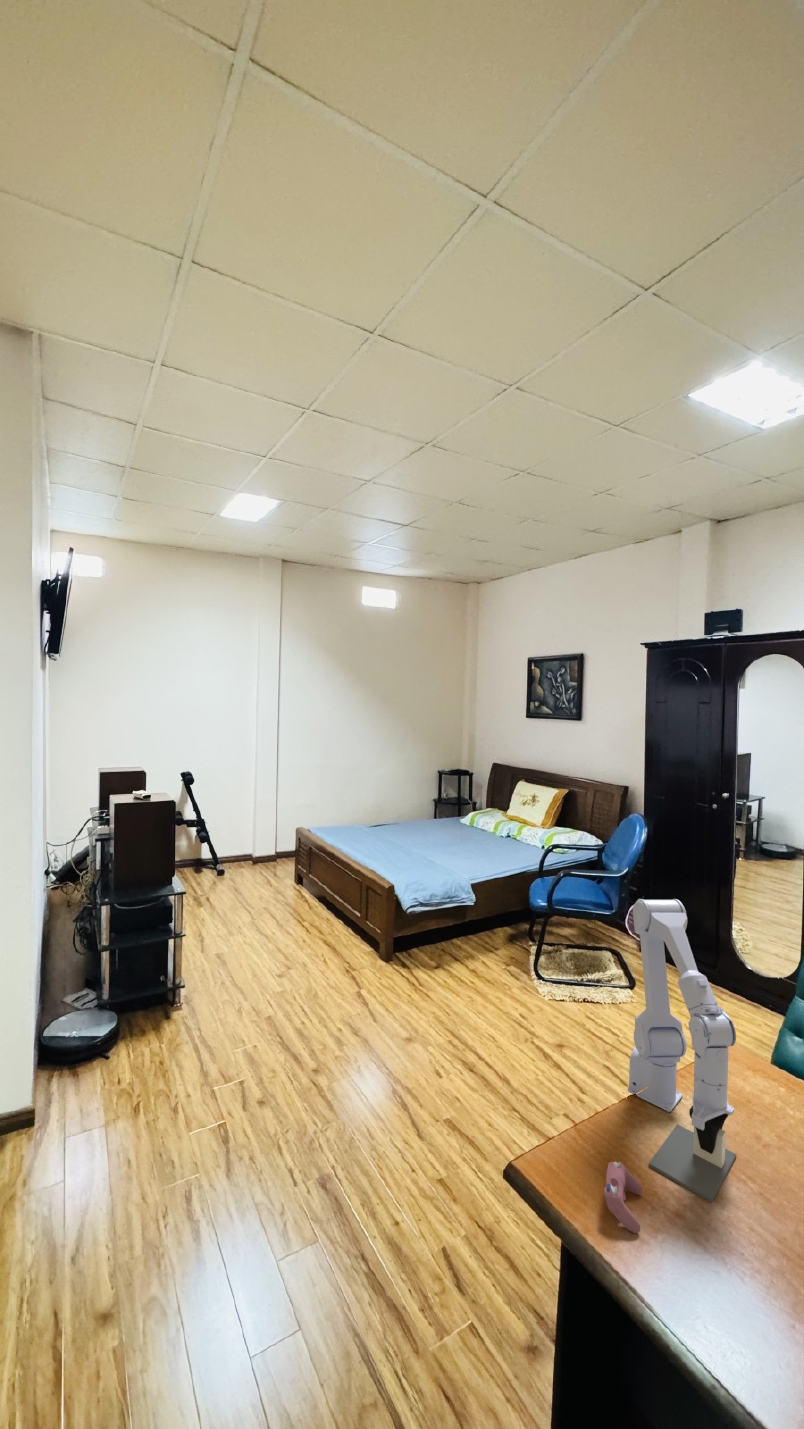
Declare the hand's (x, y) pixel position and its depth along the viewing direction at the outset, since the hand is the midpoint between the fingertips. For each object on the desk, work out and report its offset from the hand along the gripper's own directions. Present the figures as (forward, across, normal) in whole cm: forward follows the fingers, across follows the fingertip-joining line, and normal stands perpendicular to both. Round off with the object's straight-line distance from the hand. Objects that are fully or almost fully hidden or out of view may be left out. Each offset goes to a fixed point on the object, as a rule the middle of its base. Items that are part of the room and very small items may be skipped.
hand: (708, 1146), depth 109 cm
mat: (+3, -2, +2) cm, 4 cm away
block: (+2, 0, 0) cm, 2 cm away
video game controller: (+3, -22, +7) cm, 24 cm away
